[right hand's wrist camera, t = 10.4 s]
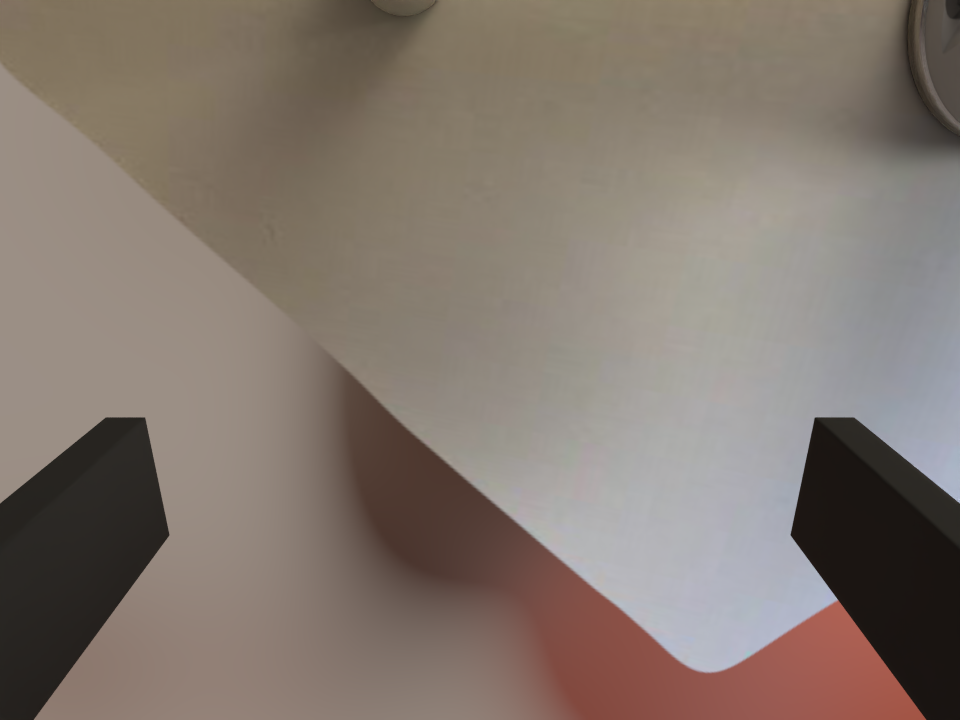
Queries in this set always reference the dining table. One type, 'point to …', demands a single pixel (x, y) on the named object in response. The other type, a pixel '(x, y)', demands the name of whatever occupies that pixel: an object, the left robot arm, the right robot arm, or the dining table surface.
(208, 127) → the dining table surface
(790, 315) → the dining table surface
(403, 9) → the bottle
